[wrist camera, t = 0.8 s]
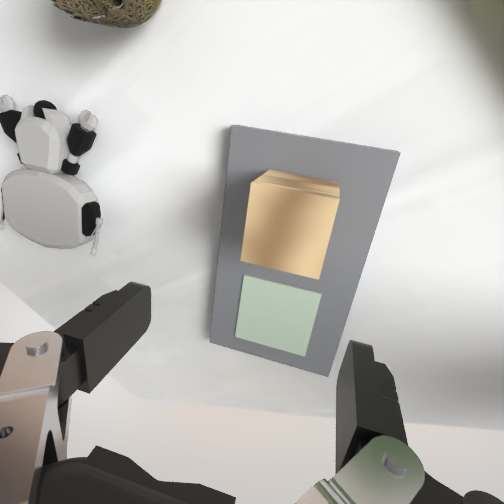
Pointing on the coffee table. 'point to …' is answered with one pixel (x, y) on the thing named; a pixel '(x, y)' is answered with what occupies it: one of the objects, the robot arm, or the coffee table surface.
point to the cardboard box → (290, 222)
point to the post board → (288, 284)
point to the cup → (110, 11)
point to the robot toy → (49, 176)
